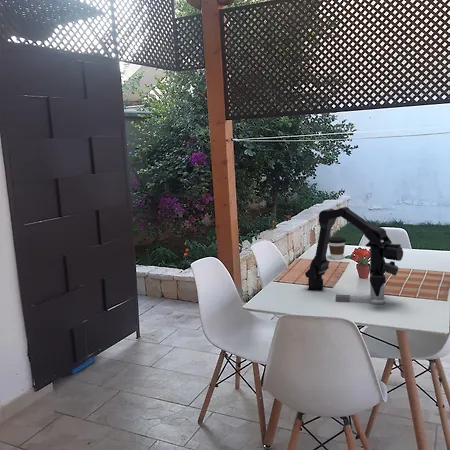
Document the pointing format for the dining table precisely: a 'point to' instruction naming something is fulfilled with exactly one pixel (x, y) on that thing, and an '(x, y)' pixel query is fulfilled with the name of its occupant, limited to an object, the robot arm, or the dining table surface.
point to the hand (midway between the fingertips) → (377, 292)
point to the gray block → (381, 294)
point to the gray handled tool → (358, 299)
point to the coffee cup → (337, 247)
